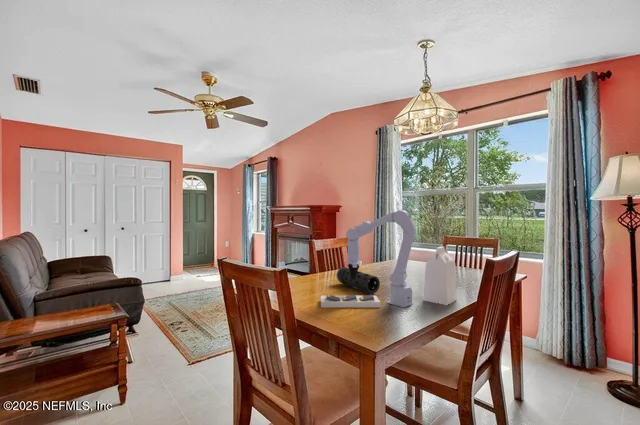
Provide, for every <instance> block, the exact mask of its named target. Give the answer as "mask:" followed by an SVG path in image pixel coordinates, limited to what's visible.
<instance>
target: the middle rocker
mask: <svg viewBox="0 0 640 425" xmlns="http://www.w3.org/2000/svg"><path fill="white" fill-rule="evenodd" d="M346 296H347V297H343V300H344V301H351V300H354V299H357V298H356V296H357V295H356V294H351V295H346Z"/></svg>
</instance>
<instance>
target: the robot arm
mask: <svg viewBox="0 0 640 425" xmlns="http://www.w3.org/2000/svg"><path fill="white" fill-rule="evenodd" d="M387 223H395V224H397V226H400V228H401V229H402V231H403V236H402V241H401V244H400V248H399V253H398V256H397V260H396V263H395V264H396V265H395V267H394V270H393V272H392V273H391V275H390V277H389V279H390V300H388V301H386V303H387V304H390V305H393V306H396V307H400V308H406V307H409V306H411V305H414V303H413V289H412V287H410V286H408V285H407V282H406V279H407V277H408V275H407V268H408V262H409V258H410V255H411V250H412V248H413V247H412V246H413V242H414V239H415V234H416V231H417V230H416V226H415V224H414V221H413V218H412V216H411V214H410V213H409V212H408V211H407V210H404V209H403V210H397V211H394V212H390V213H387V214H385V215H383V216H381V217H379V218H376V219H375V220H373V221H367V220H366V221H365V220H364V221H362V223H361V224H359V225H354V226H353V227H352V228H349V229H348V230H347V231H346V232H345V233H346V234H345V235H346V238H347V260H344V262H345V263H347V268H349V270H350V276H351V279H356V275H357V271H358V270H359V268H360V265H359V264H360V238H362V237H364V236H366V235H369V234H371V233H373V232H374V229H375V228H377V227H380V226H382V225H384V224H387Z"/></svg>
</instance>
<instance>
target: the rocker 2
mask: <svg viewBox="0 0 640 425" xmlns="http://www.w3.org/2000/svg"><path fill="white" fill-rule="evenodd" d="M363 296H364V297H360V300H361V301H368V300H372V299H374V297H373V296H374V294H373V295H372V294H368V295H363Z"/></svg>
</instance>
